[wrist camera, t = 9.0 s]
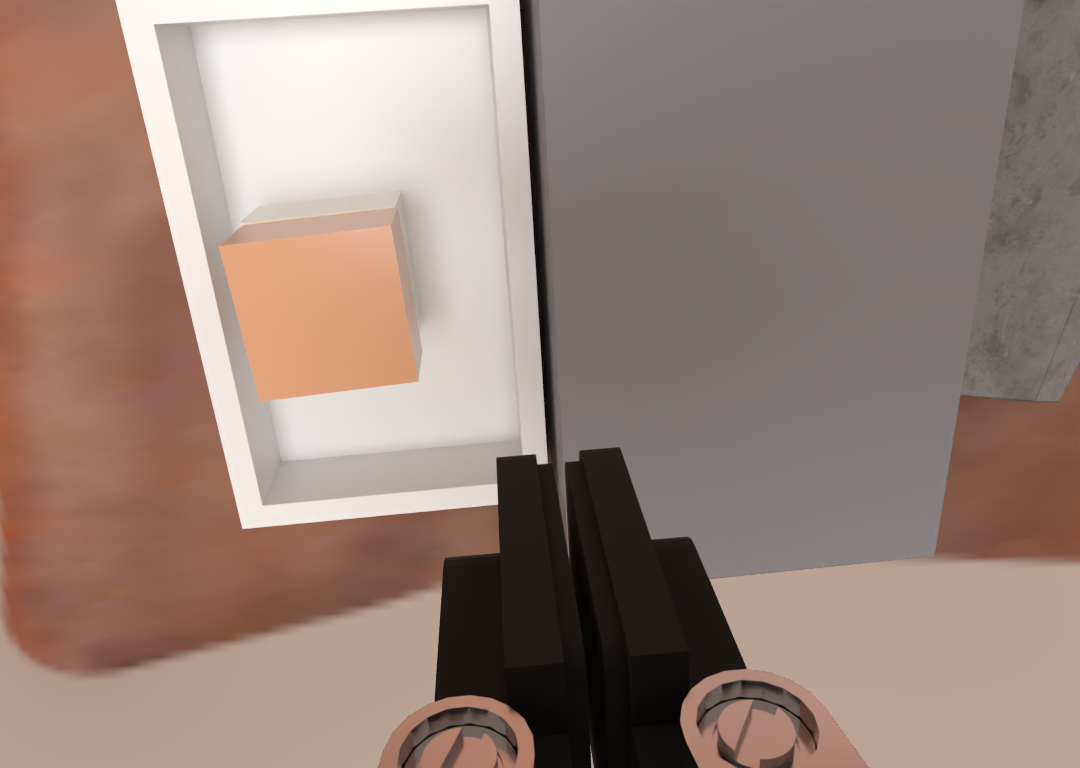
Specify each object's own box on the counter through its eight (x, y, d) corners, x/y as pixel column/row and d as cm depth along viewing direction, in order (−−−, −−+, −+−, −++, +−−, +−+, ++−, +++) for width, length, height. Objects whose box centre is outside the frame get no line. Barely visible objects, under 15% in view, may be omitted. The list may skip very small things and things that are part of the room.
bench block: (918, -123, 24) (1052, -169, 19) (853, 466, 32) (934, 555, 27) (515, -101, 24) (531, -143, 18) (551, 495, 31) (570, 593, 26)
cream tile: (238, 223, 23) (258, 206, 26) (273, 366, 25) (289, 339, 28) (394, 206, 24) (400, 191, 26) (418, 350, 25) (421, 324, 28)
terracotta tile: (397, 206, 24) (391, 225, 21) (422, 350, 26) (418, 381, 23) (242, 225, 24) (218, 245, 21) (278, 368, 25) (259, 402, 23)
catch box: (510, -24, 24) (517, -32, 21) (540, 450, 31) (549, 499, 27) (160, -3, 24) (113, -8, 20) (265, 476, 30) (242, 528, 27)
